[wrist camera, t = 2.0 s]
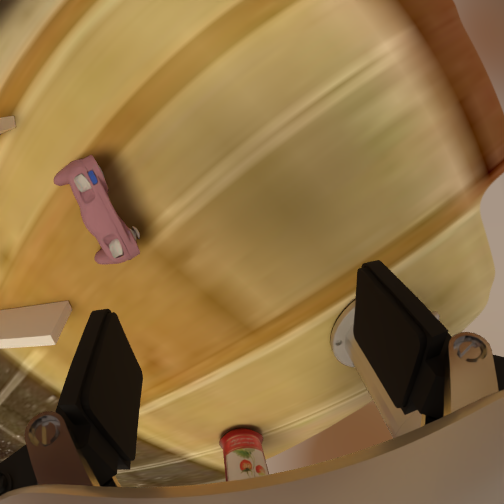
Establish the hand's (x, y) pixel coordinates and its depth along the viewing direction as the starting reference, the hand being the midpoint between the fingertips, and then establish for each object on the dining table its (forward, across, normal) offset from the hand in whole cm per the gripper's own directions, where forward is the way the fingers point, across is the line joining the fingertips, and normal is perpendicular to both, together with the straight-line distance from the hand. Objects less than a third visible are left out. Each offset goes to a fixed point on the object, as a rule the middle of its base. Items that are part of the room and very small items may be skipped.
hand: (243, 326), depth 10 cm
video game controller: (+20, +10, 0) cm, 23 cm away
